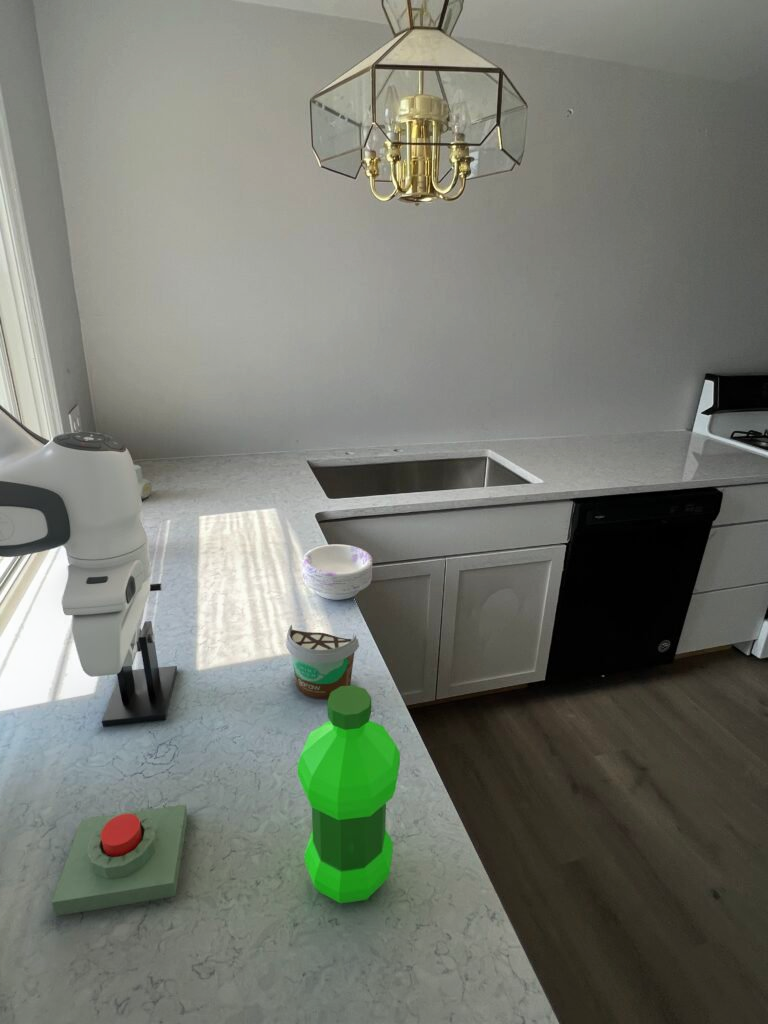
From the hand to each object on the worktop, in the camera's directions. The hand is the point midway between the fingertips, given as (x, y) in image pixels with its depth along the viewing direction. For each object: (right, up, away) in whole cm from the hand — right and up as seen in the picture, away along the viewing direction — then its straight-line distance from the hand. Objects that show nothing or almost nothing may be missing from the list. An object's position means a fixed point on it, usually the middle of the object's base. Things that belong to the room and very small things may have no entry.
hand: (128, 659), depth 73 cm
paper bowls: (+23, +2, +51) cm, 56 cm away
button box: (+4, -21, -9) cm, 23 cm away
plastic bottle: (+30, -22, -9) cm, 38 cm away
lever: (-6, +2, +18) cm, 19 cm away
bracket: (-5, -11, +17) cm, 21 cm away
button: (+4, -18, -10) cm, 21 cm away
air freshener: (-44, +24, +101) cm, 112 cm away
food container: (+23, -11, +19) cm, 32 cm away
